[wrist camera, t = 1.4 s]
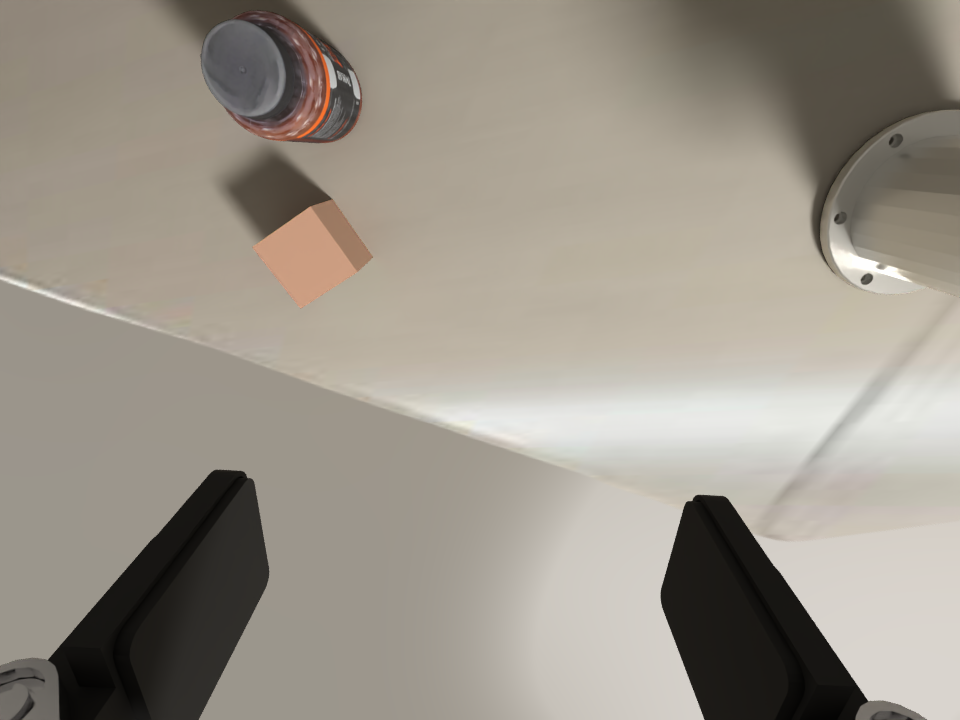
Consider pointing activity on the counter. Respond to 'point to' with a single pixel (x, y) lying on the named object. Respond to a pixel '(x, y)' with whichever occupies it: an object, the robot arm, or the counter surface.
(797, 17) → the counter surface
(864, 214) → the robot arm
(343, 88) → the supplement bottle
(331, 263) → the terracotta block
